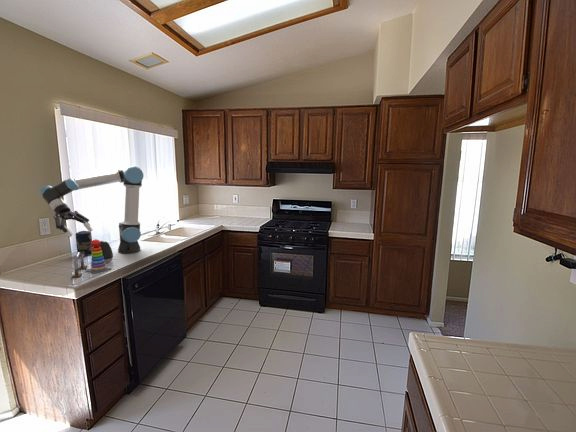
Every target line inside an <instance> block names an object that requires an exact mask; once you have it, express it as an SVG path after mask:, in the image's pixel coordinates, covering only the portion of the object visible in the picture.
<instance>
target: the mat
mask: <svg viewBox="0 0 576 432" xmlns="http://www.w3.org/2000/svg"><path fill="white" fill-rule="evenodd" d="M108 270H109V271H111V270H112V267H108V266H106V268H105V269H103V270H98V271H94V270H91V268H87V269H86V270H84V272H86V273H88V274H91V275H97V274H101V273H105V272H107V271H108Z"/></svg>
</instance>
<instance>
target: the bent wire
mask: <svg viewBox="0 0 576 432" xmlns="http://www.w3.org/2000/svg"><path fill="white" fill-rule="evenodd" d="M78 261H80V266H79V263H78ZM73 268H74V273H73V274H72V275H71V278H72V279H77V278H81V277H82V276H83V273H82V272H80V273H79V271H85V270H87V269H88V265H85V260H84V256H83V254H81V253H79V252H77V251H76V254H75V258H74V260H73Z"/></svg>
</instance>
